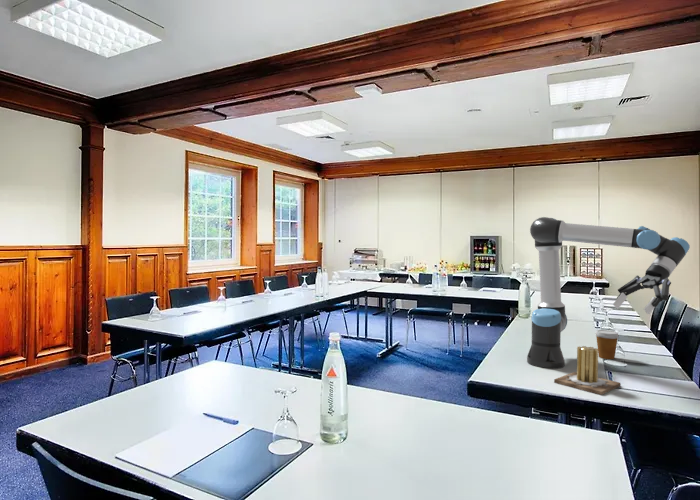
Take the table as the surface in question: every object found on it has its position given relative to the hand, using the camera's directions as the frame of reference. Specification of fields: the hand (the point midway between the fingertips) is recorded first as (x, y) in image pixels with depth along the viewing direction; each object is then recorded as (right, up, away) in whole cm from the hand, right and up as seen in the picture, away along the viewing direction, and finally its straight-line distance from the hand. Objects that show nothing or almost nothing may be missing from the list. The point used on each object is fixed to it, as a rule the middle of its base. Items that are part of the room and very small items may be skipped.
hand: (630, 309), depth 173 cm
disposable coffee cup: (+9, -27, +31) cm, 42 cm away
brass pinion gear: (-20, -26, -6) cm, 34 cm away
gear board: (-20, -28, -6) cm, 35 cm away
